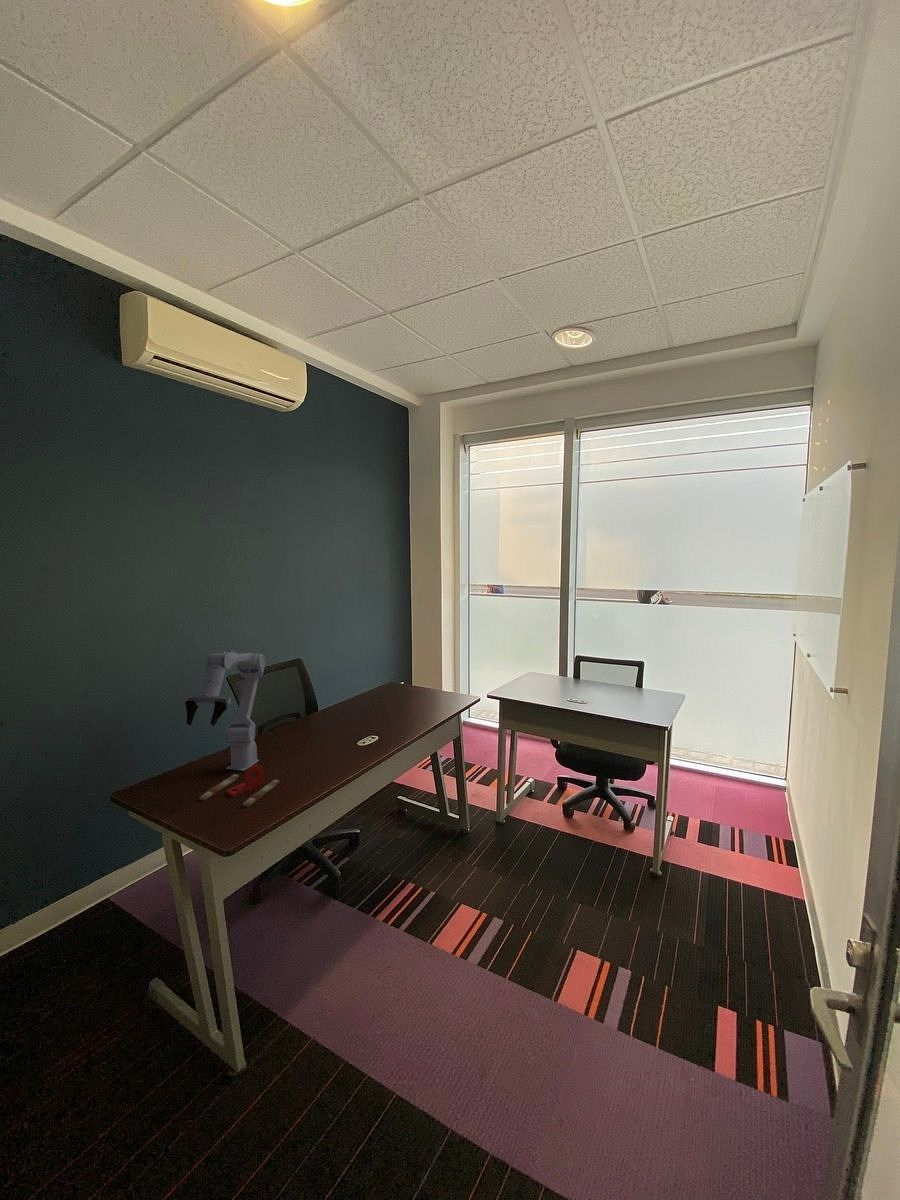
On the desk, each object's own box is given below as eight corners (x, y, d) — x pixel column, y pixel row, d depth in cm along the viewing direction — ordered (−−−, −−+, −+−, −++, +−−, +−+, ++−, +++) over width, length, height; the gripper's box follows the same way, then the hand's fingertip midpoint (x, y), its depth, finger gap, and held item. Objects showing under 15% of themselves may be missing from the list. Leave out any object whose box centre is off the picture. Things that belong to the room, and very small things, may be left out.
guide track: (233, 776, 179) (233, 773, 179) (279, 782, 174) (279, 779, 174) (198, 799, 163) (198, 796, 162) (248, 807, 157) (248, 803, 157)
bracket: (257, 780, 176) (256, 759, 176) (264, 783, 174) (263, 762, 173) (225, 793, 167) (224, 771, 166) (233, 797, 164) (232, 775, 163)
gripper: (185, 680, 163) (172, 719, 155) (230, 681, 163) (219, 721, 156) (193, 688, 169) (181, 726, 161) (236, 689, 169) (226, 728, 162)
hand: (200, 724), depth 159 cm, fingers open, 7 cm apart
